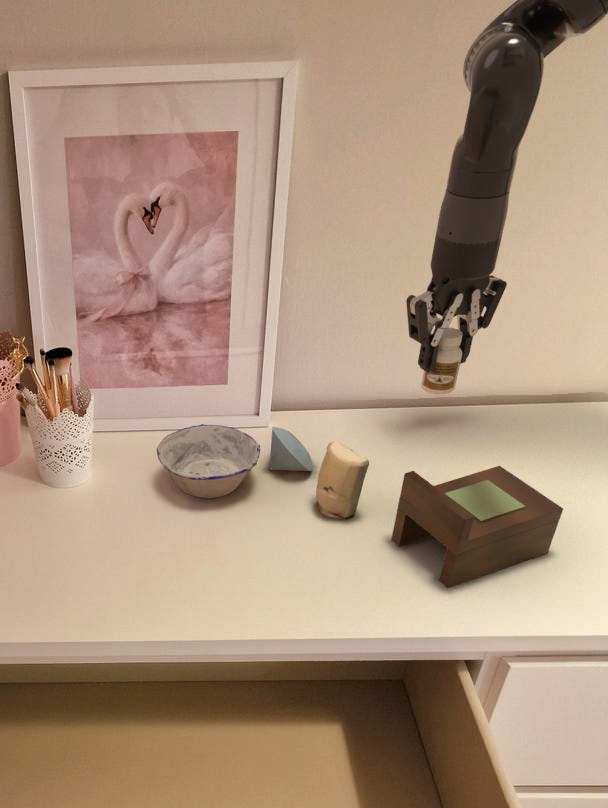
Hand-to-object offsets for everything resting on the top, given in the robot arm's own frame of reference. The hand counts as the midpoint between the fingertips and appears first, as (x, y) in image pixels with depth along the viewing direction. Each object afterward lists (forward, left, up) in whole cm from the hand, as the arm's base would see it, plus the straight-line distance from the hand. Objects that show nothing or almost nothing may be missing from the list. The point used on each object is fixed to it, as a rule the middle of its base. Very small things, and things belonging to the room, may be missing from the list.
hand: (442, 364), depth 115 cm
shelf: (+14, +25, -8) cm, 30 cm away
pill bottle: (0, 0, -4) cm, 4 cm away
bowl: (+34, -1, -9) cm, 35 cm away
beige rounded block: (+23, +12, -9) cm, 28 cm away
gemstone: (+23, +1, -9) cm, 25 cm away
